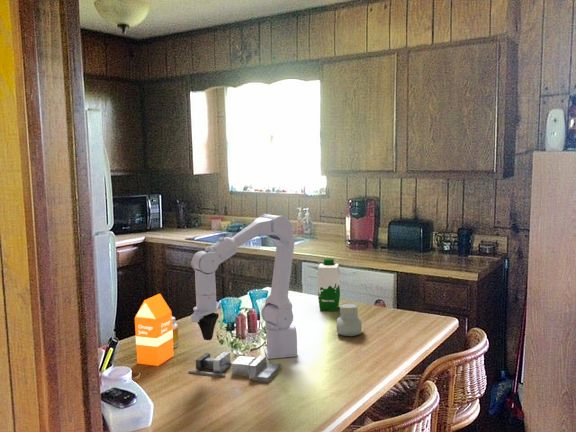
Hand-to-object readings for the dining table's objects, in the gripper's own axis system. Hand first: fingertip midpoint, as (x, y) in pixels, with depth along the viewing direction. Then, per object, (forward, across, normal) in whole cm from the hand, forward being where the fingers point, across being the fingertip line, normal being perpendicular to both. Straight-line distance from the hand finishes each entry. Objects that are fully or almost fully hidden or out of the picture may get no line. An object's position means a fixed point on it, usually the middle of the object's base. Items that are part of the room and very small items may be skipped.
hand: (207, 339), depth 155 cm
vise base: (+10, -3, +7) cm, 12 cm away
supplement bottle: (+10, -17, -23) cm, 30 cm away
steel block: (+10, -4, +9) cm, 14 cm away
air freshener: (+10, -44, +32) cm, 55 cm away
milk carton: (+10, -72, +17) cm, 75 cm away
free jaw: (+10, -3, 0) cm, 10 cm away
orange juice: (+10, -5, -21) cm, 24 cm away
